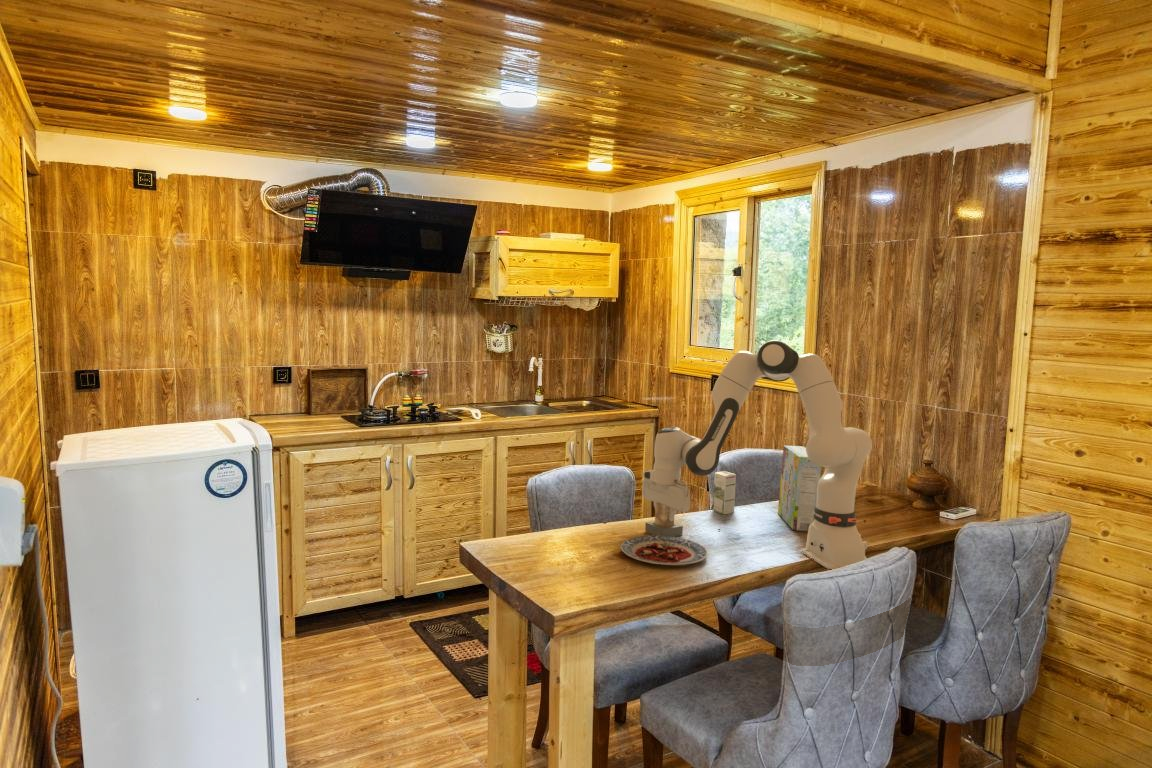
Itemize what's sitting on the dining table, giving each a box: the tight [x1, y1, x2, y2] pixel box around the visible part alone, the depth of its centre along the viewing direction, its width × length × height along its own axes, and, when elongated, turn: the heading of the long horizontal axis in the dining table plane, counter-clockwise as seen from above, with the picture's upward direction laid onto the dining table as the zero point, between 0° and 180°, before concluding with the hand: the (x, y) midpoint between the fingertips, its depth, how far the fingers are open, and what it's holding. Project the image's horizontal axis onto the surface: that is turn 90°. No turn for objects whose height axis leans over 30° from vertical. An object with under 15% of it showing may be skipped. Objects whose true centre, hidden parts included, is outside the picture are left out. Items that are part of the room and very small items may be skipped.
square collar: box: [644, 520, 683, 537], centre depth 243 cm, size 9×9×3 cm
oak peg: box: [654, 503, 675, 528], centre depth 242 cm, size 4×4×9 cm
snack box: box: [777, 444, 823, 532], centre depth 259 cm, size 22×9×26 cm, turn 179°
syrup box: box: [712, 470, 737, 515], centre depth 270 cm, size 6×6×14 cm
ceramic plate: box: [620, 534, 709, 566], centre depth 222 cm, size 26×26×3 cm
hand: (664, 518), depth 243 cm, fingers closed on oak peg, 4 cm apart
